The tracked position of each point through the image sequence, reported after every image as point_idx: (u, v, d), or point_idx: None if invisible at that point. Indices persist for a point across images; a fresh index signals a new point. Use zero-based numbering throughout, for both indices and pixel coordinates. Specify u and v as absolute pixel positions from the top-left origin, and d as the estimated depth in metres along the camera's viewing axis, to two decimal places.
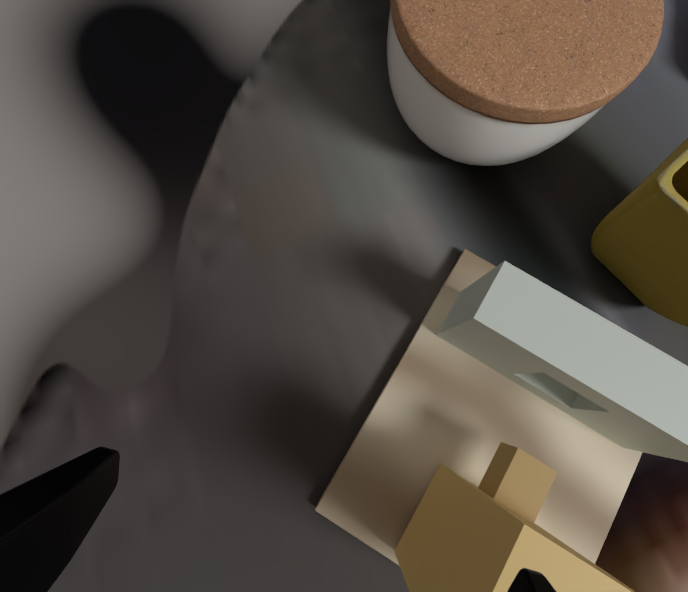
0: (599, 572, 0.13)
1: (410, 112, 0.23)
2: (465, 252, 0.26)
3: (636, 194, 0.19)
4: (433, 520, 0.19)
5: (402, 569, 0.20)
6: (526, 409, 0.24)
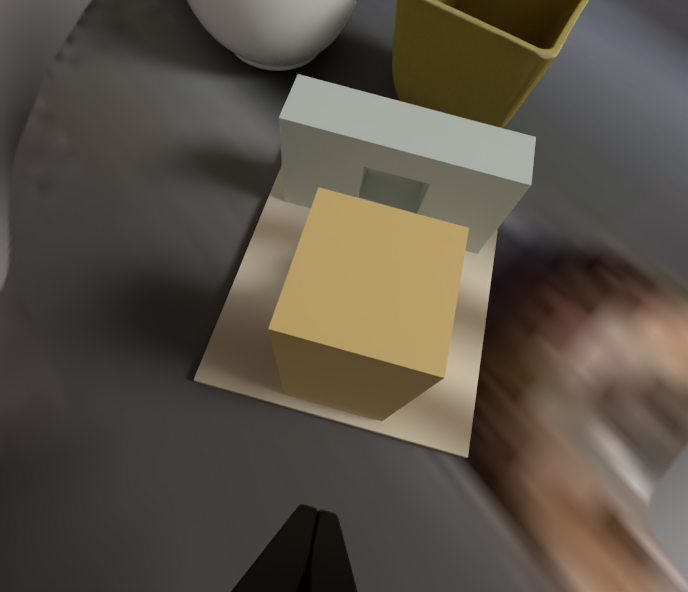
0: (396, 210, 0.14)
1: (205, 11, 0.25)
2: None
3: None
4: None
5: (282, 382, 0.19)
6: None
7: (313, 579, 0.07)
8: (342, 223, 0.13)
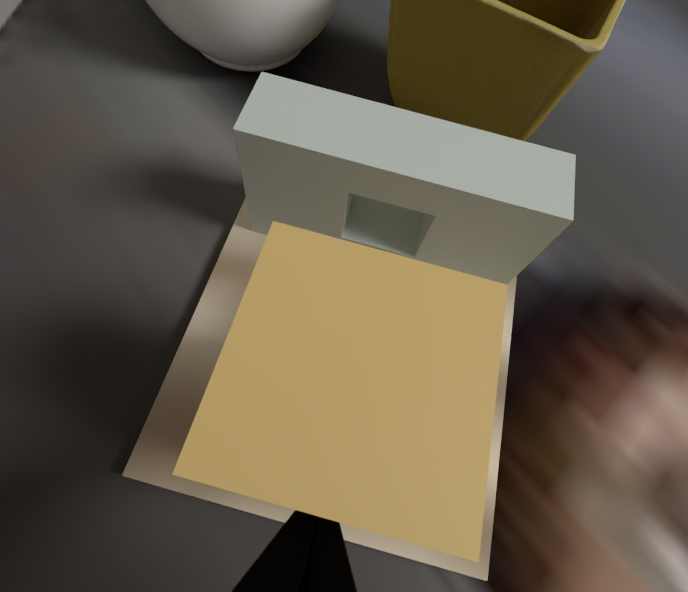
0: (393, 256, 0.09)
1: None
2: None
3: None
4: None
5: None
6: None
7: (313, 579, 0.07)
8: (308, 280, 0.08)
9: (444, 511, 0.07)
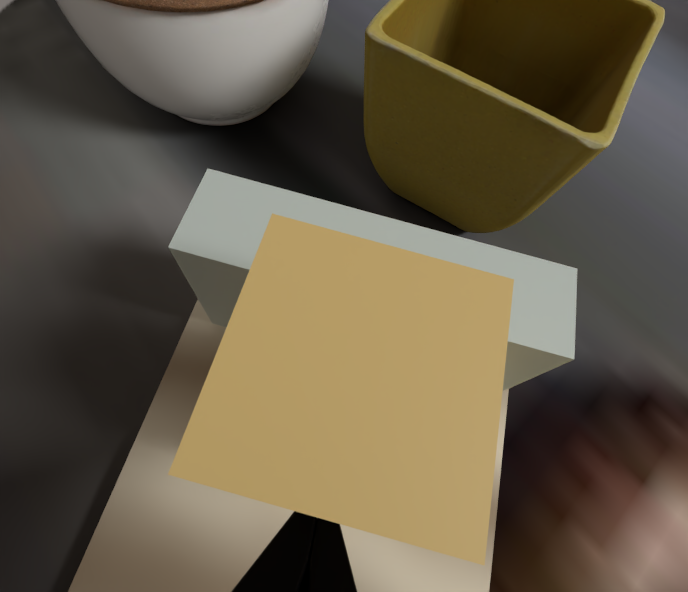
0: (396, 250, 0.09)
1: (100, 56, 0.18)
2: None
3: (364, 69, 0.16)
4: None
5: None
6: None
7: (313, 579, 0.07)
8: (308, 274, 0.08)
9: (449, 512, 0.07)
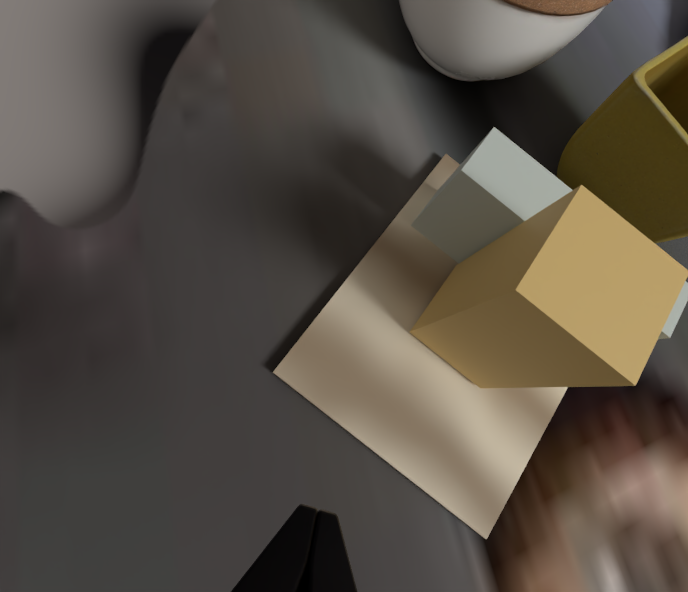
0: (636, 231, 0.15)
1: None
2: (445, 156, 0.26)
3: (610, 95, 0.21)
4: (458, 282, 0.21)
5: (426, 324, 0.21)
6: None
7: (313, 579, 0.07)
8: (592, 225, 0.15)
9: (627, 359, 0.14)
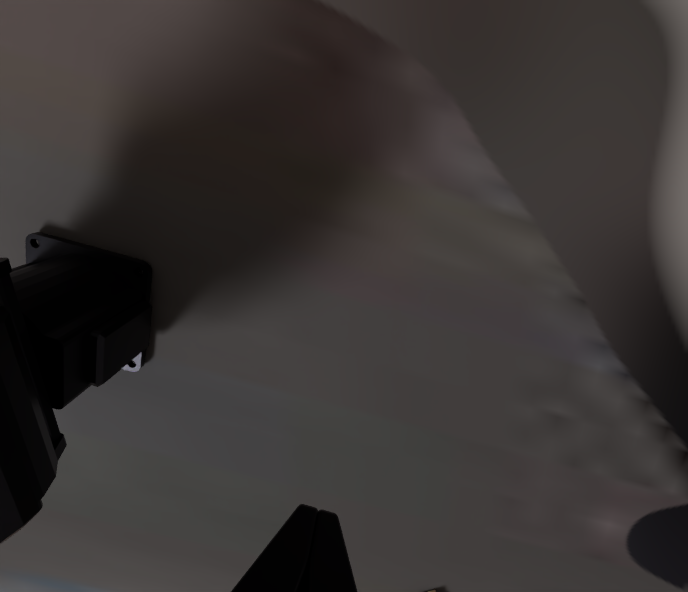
0: None
1: None
2: None
3: None
4: None
5: None
6: None
7: (313, 579, 0.07)
8: None
9: None
